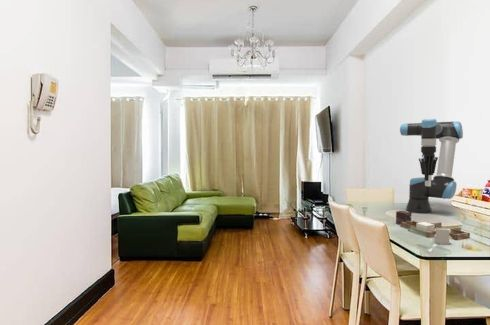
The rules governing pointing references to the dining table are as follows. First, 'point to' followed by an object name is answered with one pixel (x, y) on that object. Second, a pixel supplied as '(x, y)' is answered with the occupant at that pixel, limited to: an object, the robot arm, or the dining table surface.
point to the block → (425, 226)
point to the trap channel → (454, 233)
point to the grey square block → (442, 236)
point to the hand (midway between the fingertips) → (427, 186)
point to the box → (402, 216)
